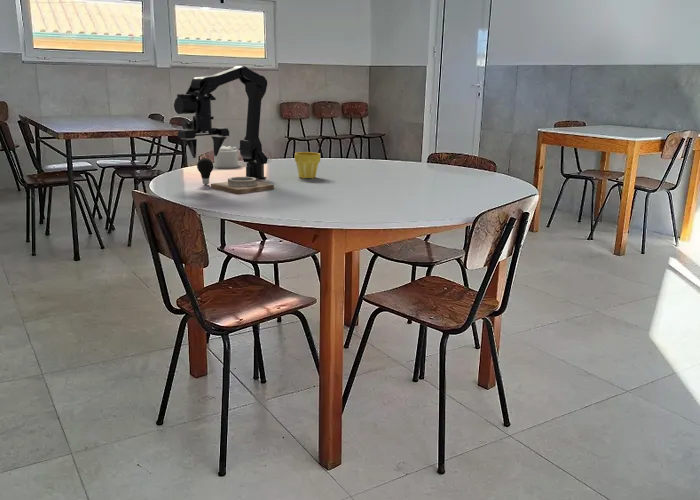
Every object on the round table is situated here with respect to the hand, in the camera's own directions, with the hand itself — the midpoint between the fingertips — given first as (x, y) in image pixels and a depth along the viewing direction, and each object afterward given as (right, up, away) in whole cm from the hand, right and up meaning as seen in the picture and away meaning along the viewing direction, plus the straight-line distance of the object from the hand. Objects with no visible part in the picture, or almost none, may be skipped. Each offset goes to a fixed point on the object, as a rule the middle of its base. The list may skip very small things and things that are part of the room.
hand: (205, 156), depth 229 cm
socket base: (+14, -12, -2) cm, 18 cm away
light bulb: (0, -10, +3) cm, 11 cm away
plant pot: (+36, -5, +26) cm, 44 cm away
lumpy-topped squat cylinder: (-3, +4, +54) cm, 54 cm away
